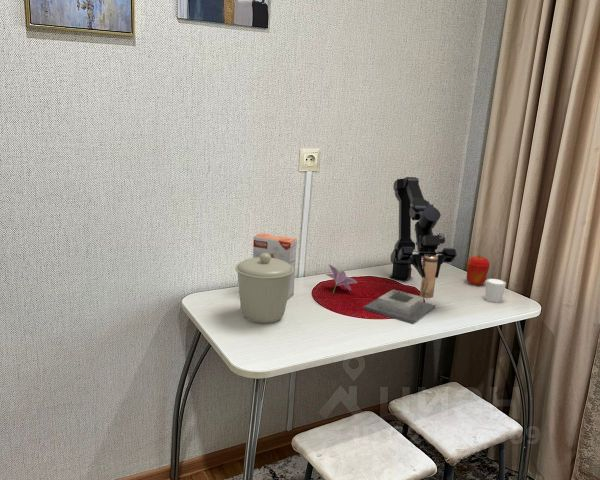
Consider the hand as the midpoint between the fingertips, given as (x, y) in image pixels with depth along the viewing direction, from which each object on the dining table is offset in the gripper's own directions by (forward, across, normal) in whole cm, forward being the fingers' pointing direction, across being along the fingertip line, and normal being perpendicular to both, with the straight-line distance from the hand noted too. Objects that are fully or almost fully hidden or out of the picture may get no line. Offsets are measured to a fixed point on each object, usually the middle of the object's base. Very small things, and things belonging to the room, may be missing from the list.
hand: (430, 277), depth 190 cm
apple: (-13, +29, +31) cm, 44 cm away
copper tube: (+4, 0, +6) cm, 7 cm away
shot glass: (-1, +29, +19) cm, 35 cm away
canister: (+14, -55, +4) cm, 57 cm away
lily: (-4, -27, +22) cm, 35 cm away
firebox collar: (+7, -8, +11) cm, 15 cm away
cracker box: (0, -51, +18) cm, 54 cm away
